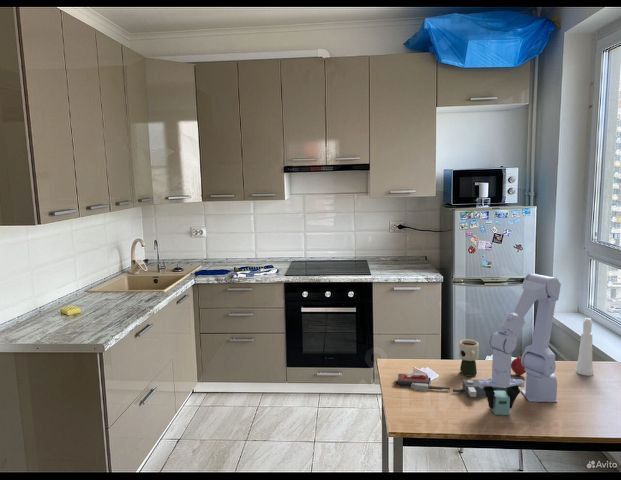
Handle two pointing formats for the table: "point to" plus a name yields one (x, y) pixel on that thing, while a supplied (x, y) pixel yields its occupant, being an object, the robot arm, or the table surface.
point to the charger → (501, 403)
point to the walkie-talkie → (416, 381)
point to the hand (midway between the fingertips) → (500, 407)
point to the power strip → (476, 388)
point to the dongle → (472, 391)
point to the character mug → (468, 356)
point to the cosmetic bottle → (585, 350)
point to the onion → (517, 366)
